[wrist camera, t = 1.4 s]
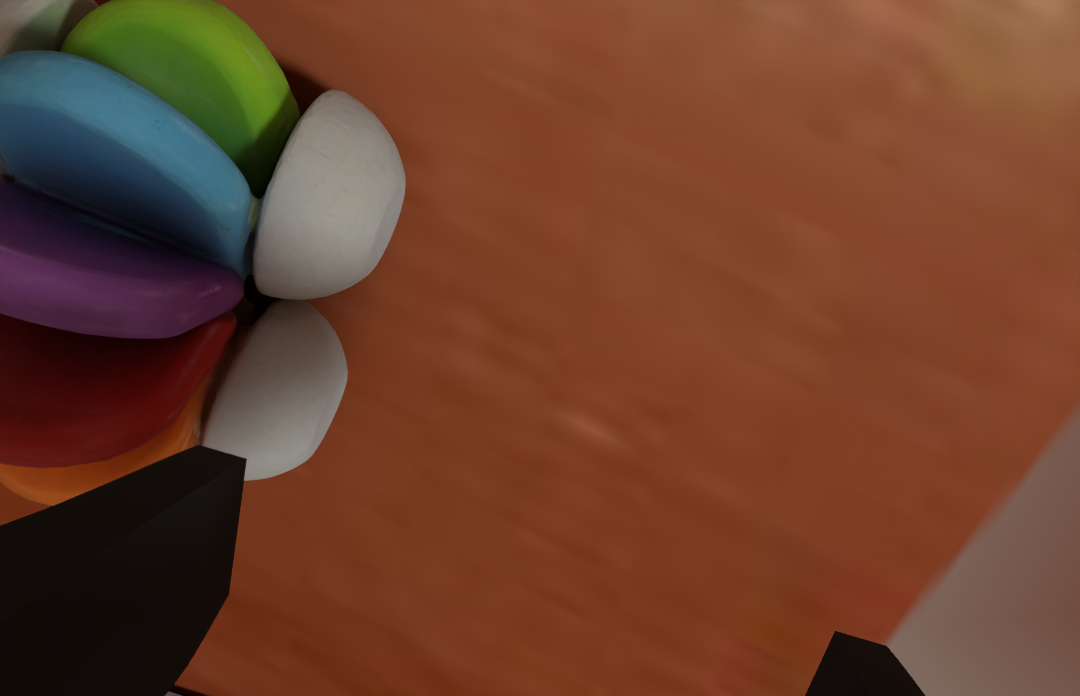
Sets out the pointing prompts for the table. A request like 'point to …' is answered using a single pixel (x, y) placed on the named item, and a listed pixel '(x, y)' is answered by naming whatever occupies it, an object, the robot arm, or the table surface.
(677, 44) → the table surface
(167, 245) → the rainbow petal cluster
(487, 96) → the table surface
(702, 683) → the table surface
